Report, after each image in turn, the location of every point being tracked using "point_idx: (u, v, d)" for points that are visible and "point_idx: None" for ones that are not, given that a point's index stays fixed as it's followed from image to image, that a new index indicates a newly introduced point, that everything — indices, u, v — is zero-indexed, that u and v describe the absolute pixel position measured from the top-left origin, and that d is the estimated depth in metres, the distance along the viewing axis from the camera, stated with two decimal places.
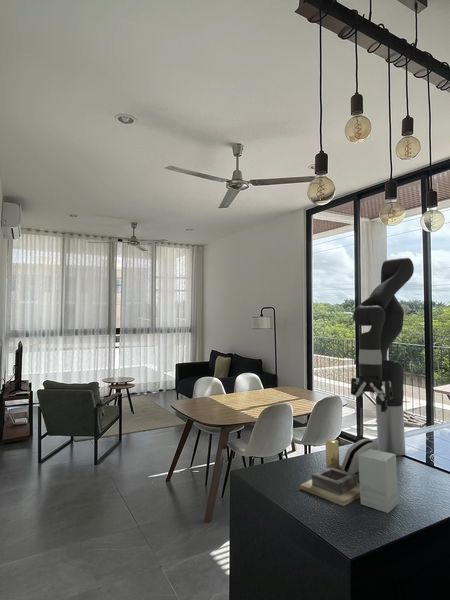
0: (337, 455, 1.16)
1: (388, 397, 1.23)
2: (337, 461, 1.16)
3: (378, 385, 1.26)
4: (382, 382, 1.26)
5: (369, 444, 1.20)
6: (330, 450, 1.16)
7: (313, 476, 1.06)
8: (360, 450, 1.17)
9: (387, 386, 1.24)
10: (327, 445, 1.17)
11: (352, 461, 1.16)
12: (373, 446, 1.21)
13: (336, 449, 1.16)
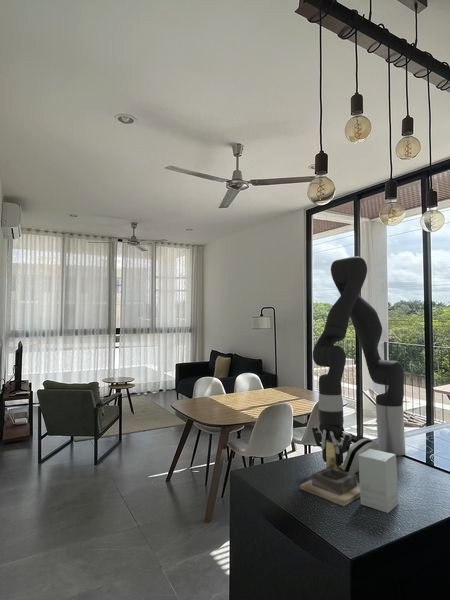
0: None
1: (343, 450, 1.13)
2: None
3: (338, 436, 1.15)
4: (343, 433, 1.14)
5: (369, 443, 1.21)
6: (330, 450, 1.16)
7: (313, 476, 1.06)
8: (361, 450, 1.17)
9: (346, 440, 1.13)
10: (327, 445, 1.17)
11: (353, 461, 1.16)
12: (373, 445, 1.22)
13: None
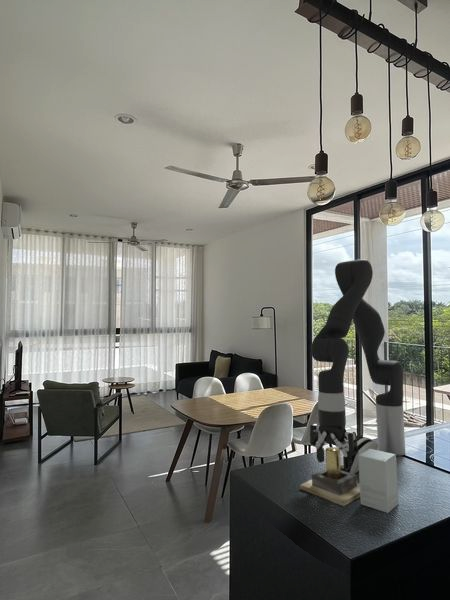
0: (339, 465, 1.04)
1: (351, 453, 1.00)
2: (339, 472, 1.04)
3: (340, 437, 1.03)
4: (345, 433, 1.03)
5: (369, 443, 1.22)
6: (331, 459, 1.04)
7: (313, 476, 1.06)
8: (362, 449, 1.18)
9: (350, 439, 1.01)
10: (327, 454, 1.05)
11: (354, 460, 1.17)
12: (373, 445, 1.23)
13: (337, 458, 1.04)
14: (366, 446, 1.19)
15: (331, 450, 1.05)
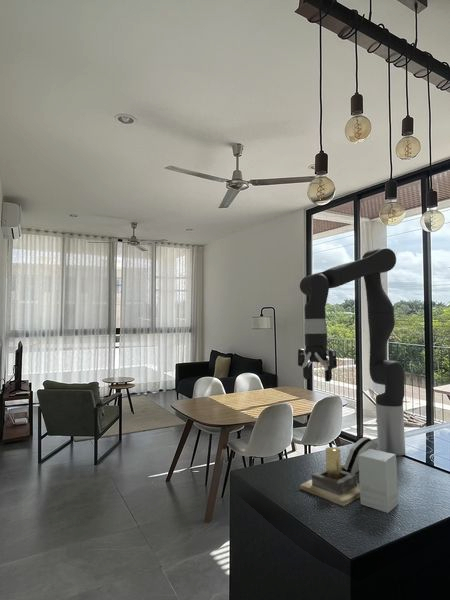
0: (339, 465, 1.04)
1: (331, 366, 1.21)
2: (339, 472, 1.04)
3: (322, 354, 1.24)
4: (326, 351, 1.23)
5: (370, 442, 1.22)
6: (331, 459, 1.04)
7: (313, 476, 1.06)
8: (363, 449, 1.18)
9: (330, 355, 1.21)
10: (327, 454, 1.05)
11: (355, 460, 1.17)
12: (373, 444, 1.23)
13: (337, 458, 1.04)
14: (367, 446, 1.20)
15: (331, 450, 1.05)
